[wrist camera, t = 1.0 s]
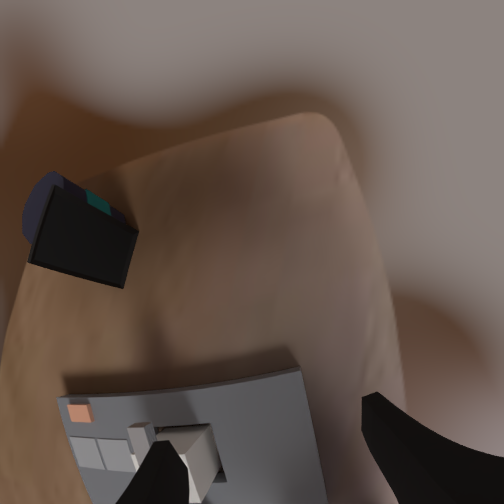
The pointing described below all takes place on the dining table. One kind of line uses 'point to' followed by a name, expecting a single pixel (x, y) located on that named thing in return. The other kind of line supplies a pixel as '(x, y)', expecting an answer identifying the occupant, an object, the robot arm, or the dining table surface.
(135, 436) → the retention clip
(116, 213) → the speaker
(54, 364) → the dining table surface
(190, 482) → the plug
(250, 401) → the power strip
